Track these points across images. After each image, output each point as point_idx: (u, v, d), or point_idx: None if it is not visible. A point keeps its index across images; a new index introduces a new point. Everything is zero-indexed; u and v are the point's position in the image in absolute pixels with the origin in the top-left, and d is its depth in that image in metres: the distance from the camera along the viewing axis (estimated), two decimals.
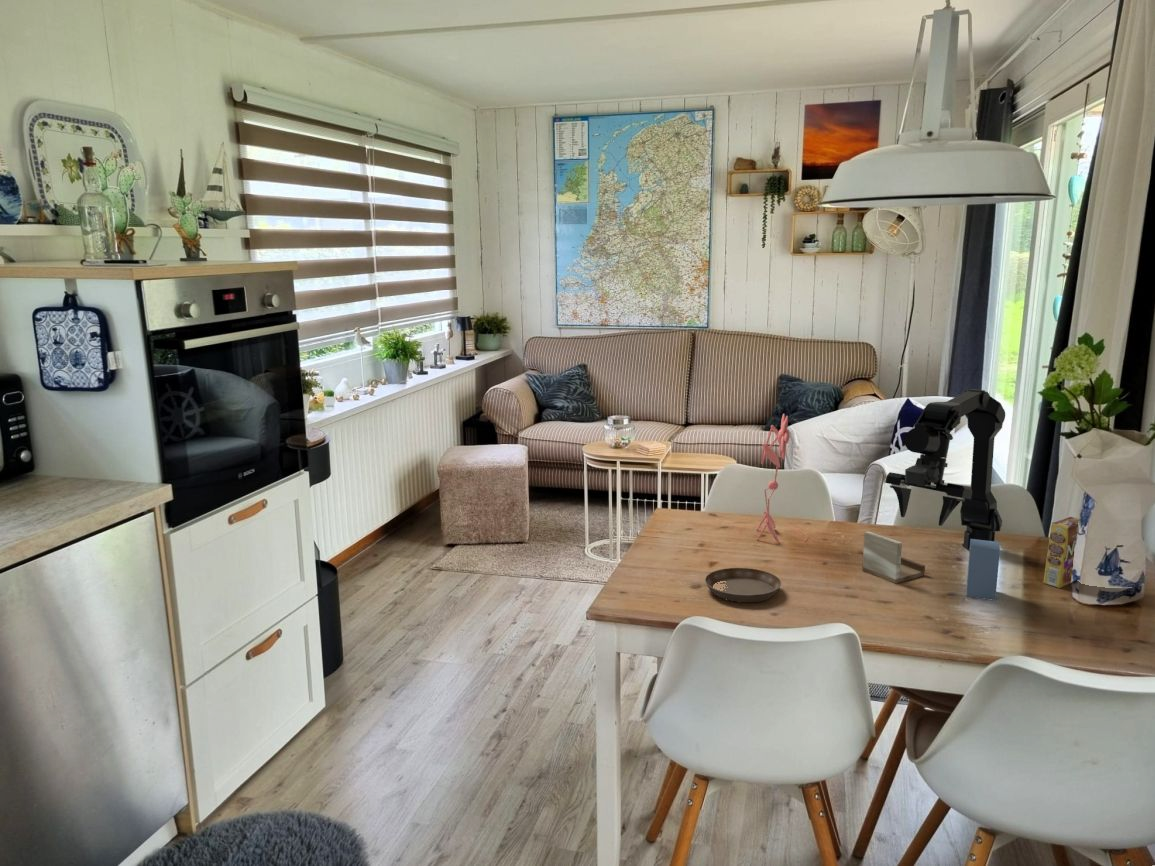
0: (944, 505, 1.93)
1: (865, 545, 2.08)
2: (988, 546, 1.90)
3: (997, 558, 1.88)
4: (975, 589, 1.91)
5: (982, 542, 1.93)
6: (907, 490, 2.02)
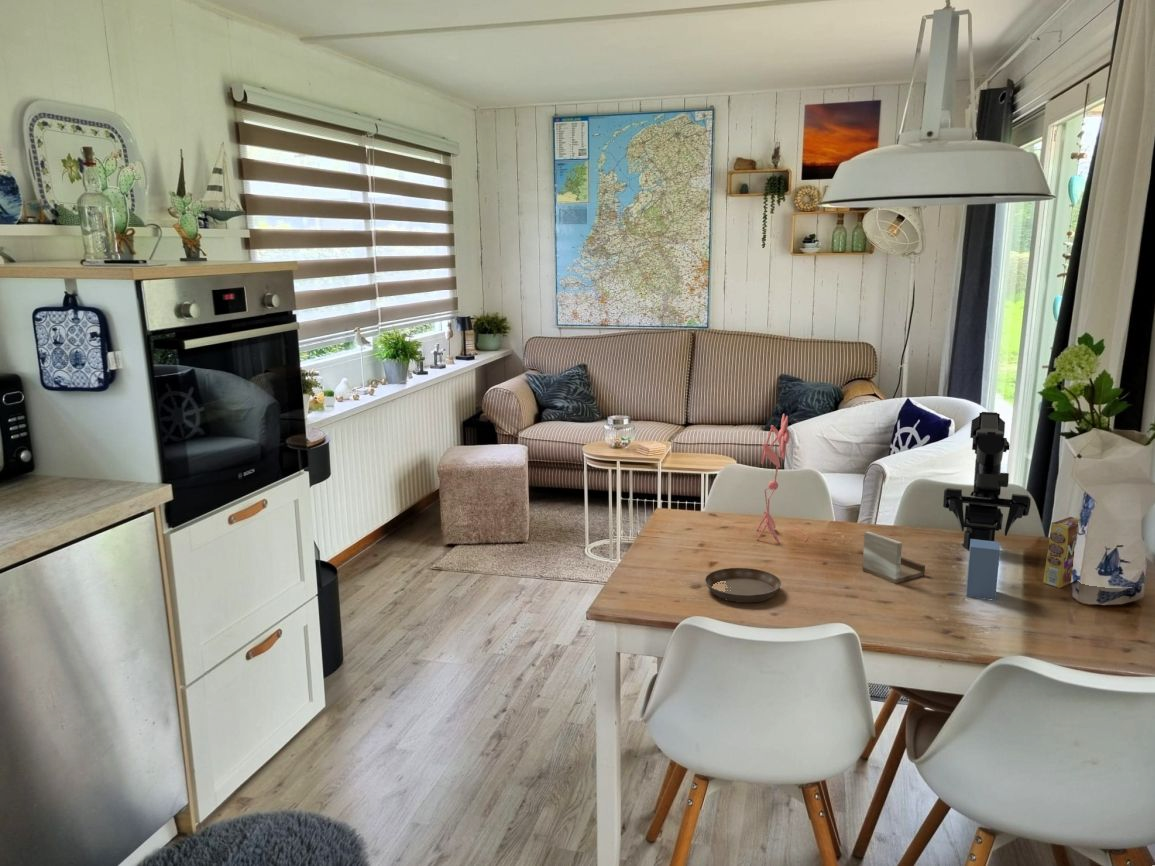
0: (1010, 514, 1.97)
1: (865, 545, 2.08)
2: (988, 546, 1.90)
3: (997, 558, 1.88)
4: (975, 589, 1.91)
5: (982, 542, 1.93)
6: None
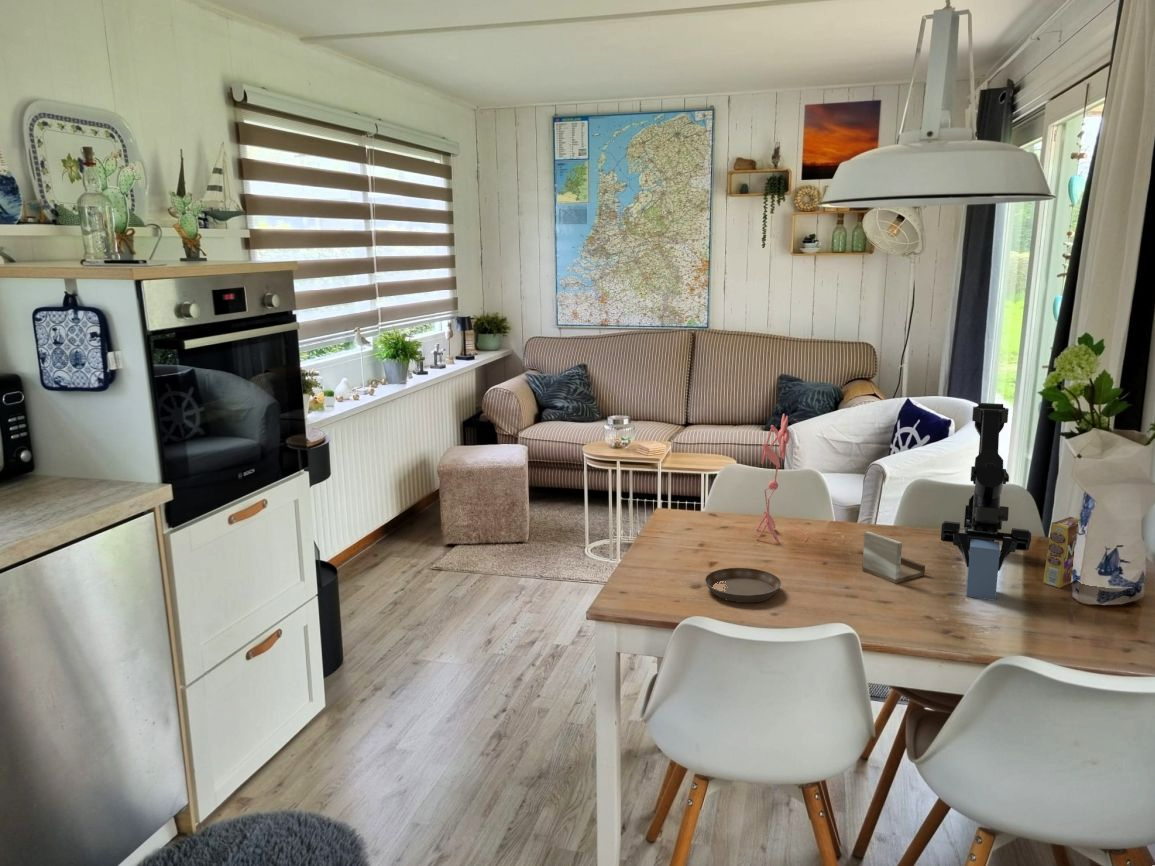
0: (1003, 548, 1.91)
1: (865, 545, 2.08)
2: (988, 546, 1.90)
3: (997, 558, 1.88)
4: (975, 589, 1.91)
5: (982, 542, 1.93)
6: None
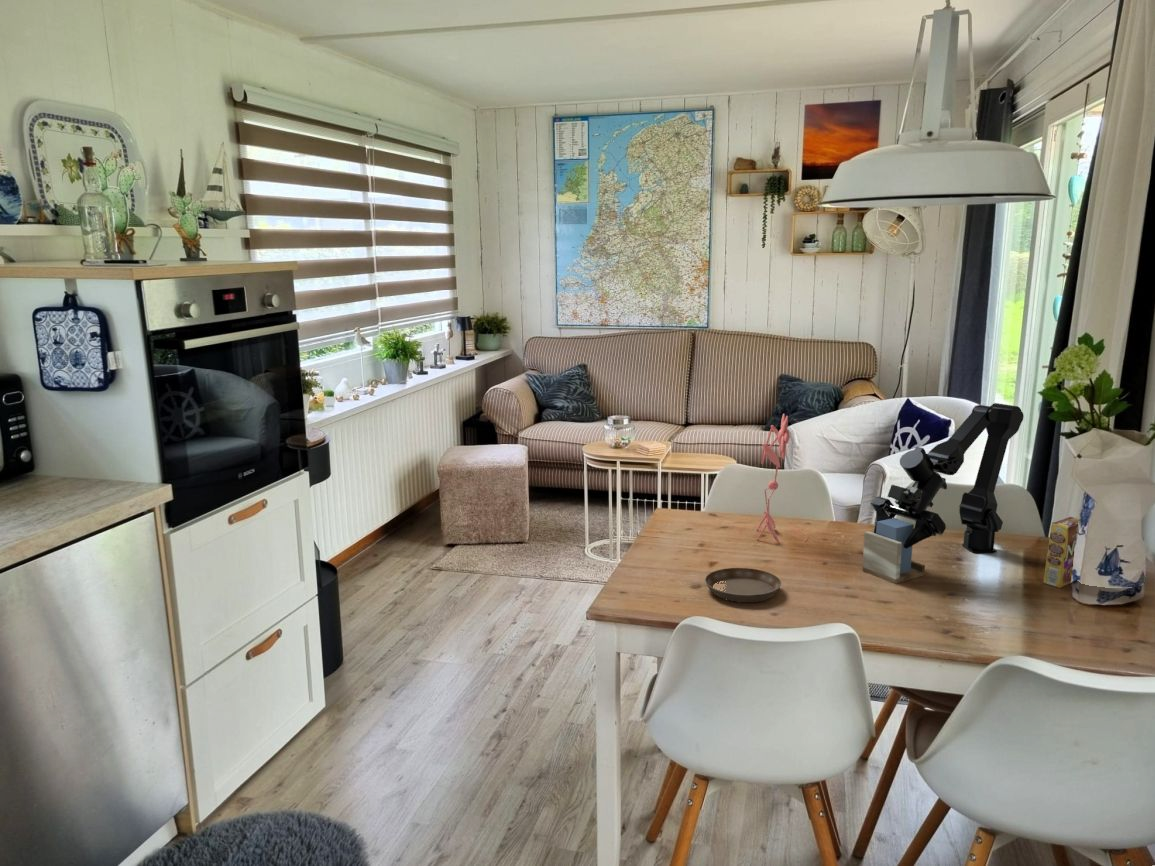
0: (915, 529, 2.01)
1: (865, 545, 2.08)
2: (893, 524, 2.04)
3: (894, 535, 2.01)
4: None
5: (896, 521, 2.06)
6: (888, 518, 2.11)
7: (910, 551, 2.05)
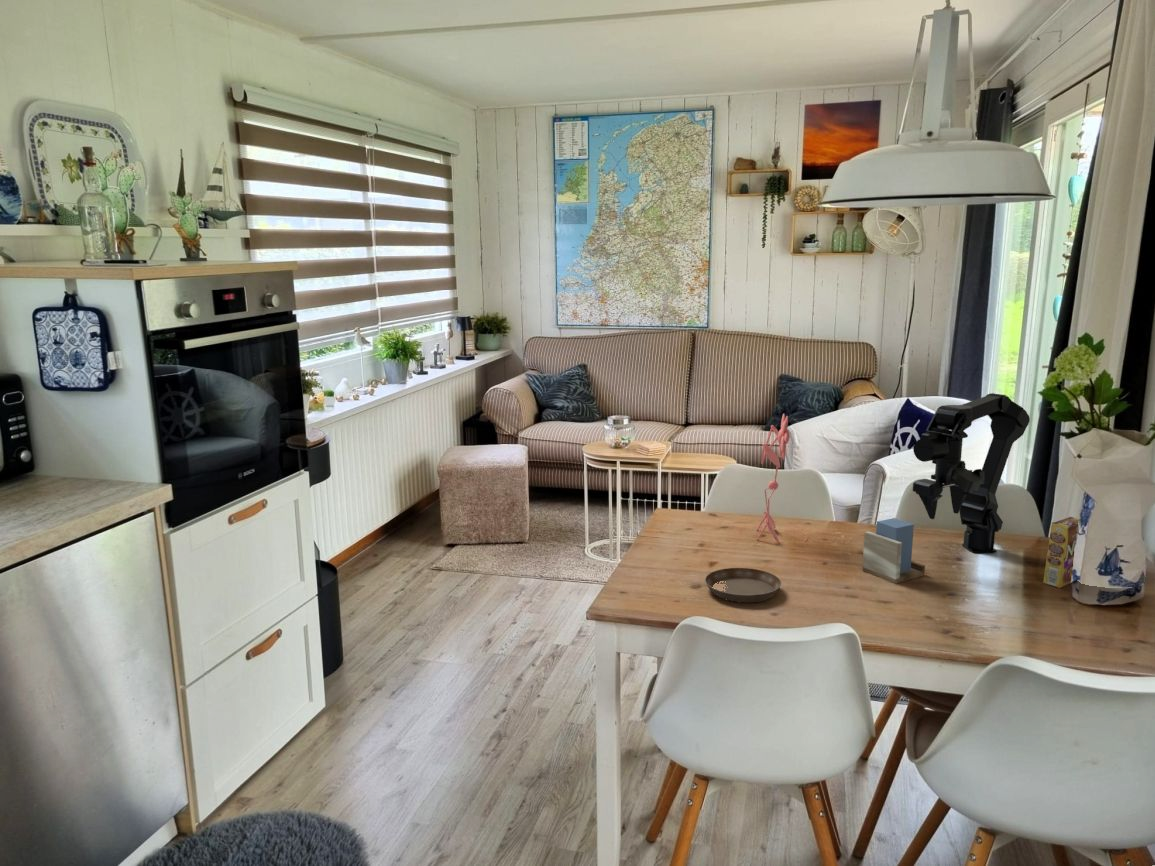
0: (964, 496, 2.13)
1: (865, 545, 2.08)
2: (893, 524, 2.04)
3: (894, 535, 2.01)
4: None
5: (896, 521, 2.06)
6: None
7: (910, 551, 2.05)
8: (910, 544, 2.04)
